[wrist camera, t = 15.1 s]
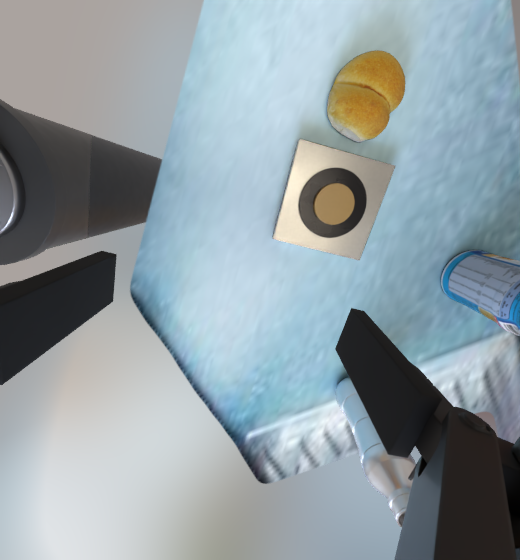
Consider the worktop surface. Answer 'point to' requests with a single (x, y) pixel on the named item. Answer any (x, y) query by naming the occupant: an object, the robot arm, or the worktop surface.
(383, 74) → the bread roll
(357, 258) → the push button
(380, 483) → the plastic bottle
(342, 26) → the worktop surface
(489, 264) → the beverage bottle
